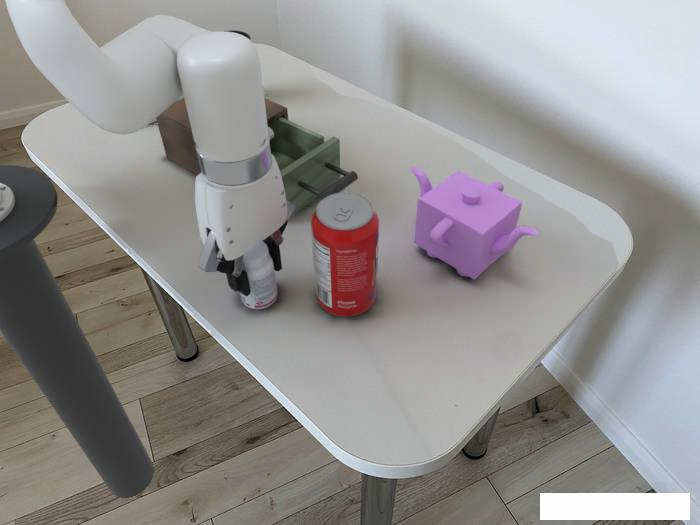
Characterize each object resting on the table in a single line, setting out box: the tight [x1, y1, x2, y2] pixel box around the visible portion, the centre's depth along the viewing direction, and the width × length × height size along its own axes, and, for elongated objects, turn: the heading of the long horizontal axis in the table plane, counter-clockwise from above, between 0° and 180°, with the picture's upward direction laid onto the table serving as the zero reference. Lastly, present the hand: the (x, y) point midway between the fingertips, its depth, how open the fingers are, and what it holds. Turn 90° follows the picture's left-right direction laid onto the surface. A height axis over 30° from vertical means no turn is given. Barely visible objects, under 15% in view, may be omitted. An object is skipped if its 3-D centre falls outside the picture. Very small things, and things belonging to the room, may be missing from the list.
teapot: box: [410, 166, 539, 280], centre depth 78 cm, size 15×13×11 cm
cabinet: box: [156, 97, 289, 176], centre depth 95 cm, size 17×14×10 cm
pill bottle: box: [239, 241, 279, 310], centre depth 73 cm, size 5×5×8 cm
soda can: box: [310, 191, 380, 317], centre depth 70 cm, size 8×8×15 cm
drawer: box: [267, 117, 359, 219], centre depth 88 cm, size 21×12×8 cm, turn 51°
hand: (256, 276), depth 73 cm, fingers closed on pill bottle, 4 cm apart
